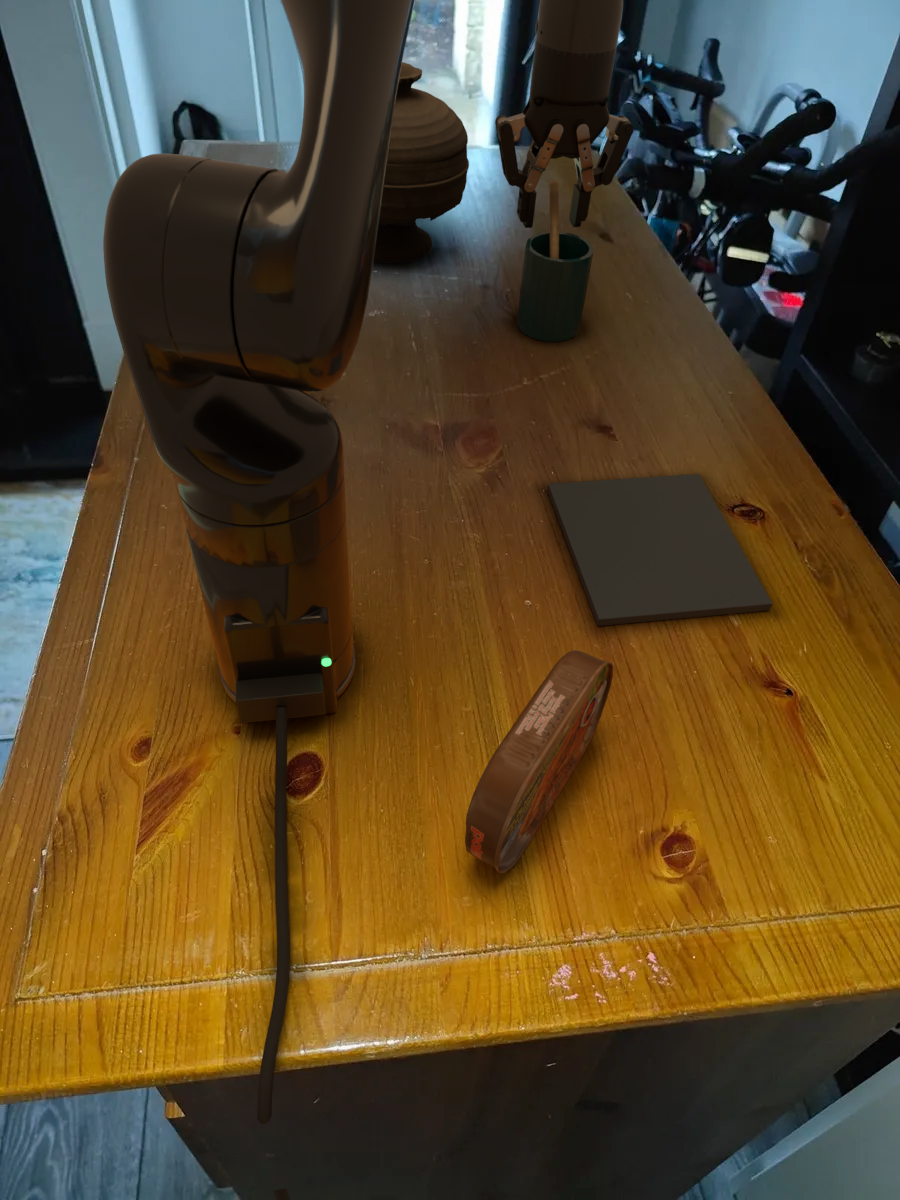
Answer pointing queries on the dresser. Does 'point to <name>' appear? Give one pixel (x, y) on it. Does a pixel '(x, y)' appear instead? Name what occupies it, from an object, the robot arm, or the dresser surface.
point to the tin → (536, 759)
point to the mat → (654, 550)
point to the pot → (419, 170)
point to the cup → (554, 287)
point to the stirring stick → (554, 219)
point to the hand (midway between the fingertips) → (551, 223)
